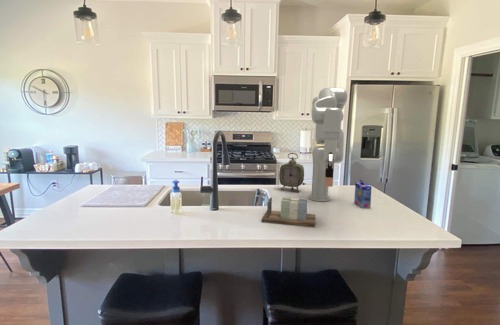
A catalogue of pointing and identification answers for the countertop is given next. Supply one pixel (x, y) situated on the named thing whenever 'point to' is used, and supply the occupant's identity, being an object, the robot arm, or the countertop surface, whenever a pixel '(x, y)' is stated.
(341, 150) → the robot arm
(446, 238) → the countertop surface
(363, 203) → the ink cartridge box
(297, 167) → the tabletop clock
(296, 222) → the walnut shelf
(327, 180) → the terracotta rectangular block
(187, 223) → the countertop surface
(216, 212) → the countertop surface
